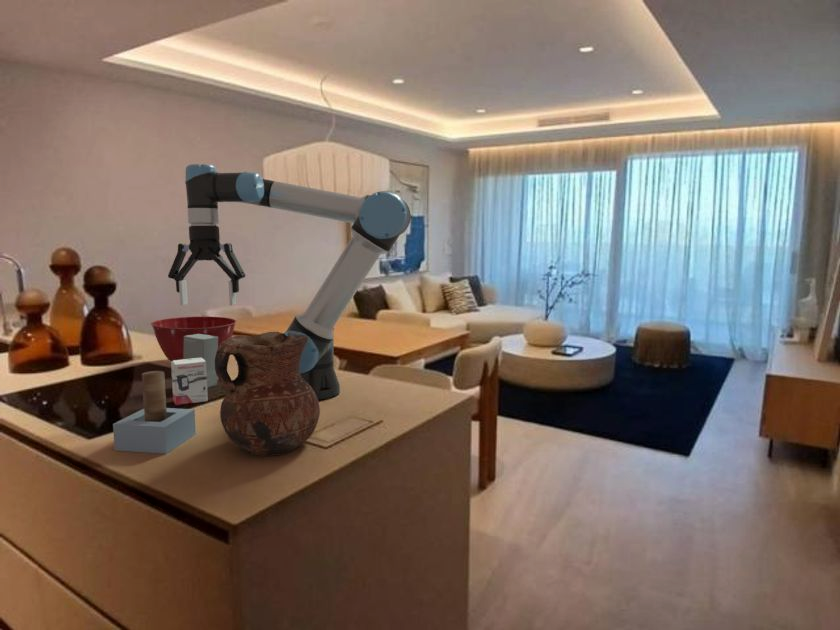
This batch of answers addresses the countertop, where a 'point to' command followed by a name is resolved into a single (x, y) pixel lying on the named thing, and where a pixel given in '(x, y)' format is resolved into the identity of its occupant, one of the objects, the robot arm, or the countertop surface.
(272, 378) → the jug
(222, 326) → the mixing bowl
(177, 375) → the ink box
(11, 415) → the countertop surface
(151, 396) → the peg
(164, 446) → the socket
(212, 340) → the skincare box
